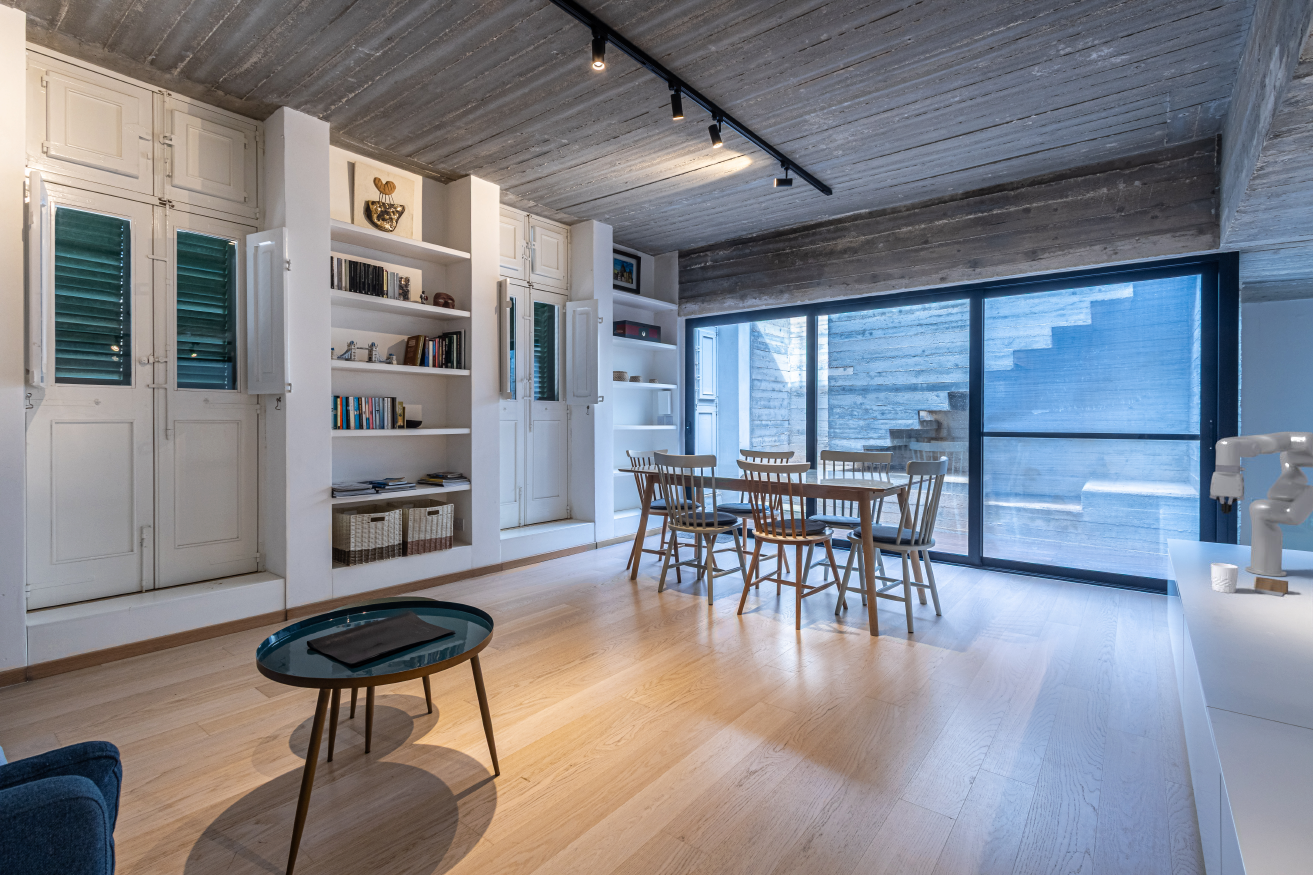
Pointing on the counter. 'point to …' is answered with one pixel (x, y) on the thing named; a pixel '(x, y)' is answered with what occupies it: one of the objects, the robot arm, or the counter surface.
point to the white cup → (1224, 577)
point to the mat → (1269, 592)
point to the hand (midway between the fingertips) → (1226, 513)
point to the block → (1271, 584)
